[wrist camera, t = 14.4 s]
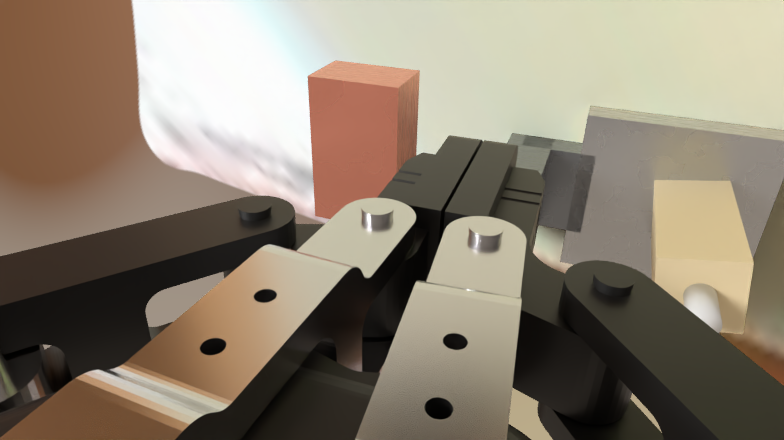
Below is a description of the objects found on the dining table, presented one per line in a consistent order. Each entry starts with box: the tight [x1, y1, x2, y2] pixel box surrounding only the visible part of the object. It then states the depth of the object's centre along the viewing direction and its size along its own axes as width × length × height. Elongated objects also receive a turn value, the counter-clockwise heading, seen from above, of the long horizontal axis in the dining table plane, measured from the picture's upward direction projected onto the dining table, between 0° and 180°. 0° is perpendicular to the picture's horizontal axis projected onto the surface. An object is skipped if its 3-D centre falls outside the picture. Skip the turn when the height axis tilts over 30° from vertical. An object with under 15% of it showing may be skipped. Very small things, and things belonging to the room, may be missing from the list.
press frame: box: [507, 106, 784, 280], centre depth 28 cm, size 18×12×35 cm, turn 89°
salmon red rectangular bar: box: [308, 61, 419, 219], centre depth 22 cm, size 3×15×3 cm, turn 179°
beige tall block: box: [651, 180, 754, 334], centre depth 34 cm, size 4×4×12 cm
